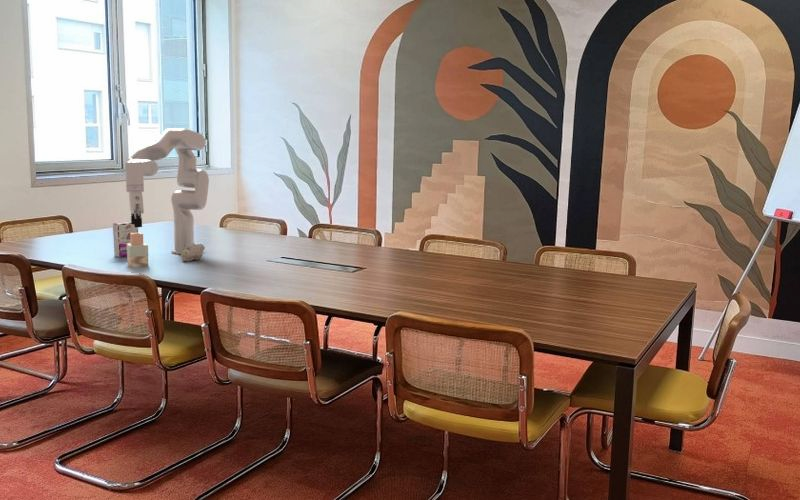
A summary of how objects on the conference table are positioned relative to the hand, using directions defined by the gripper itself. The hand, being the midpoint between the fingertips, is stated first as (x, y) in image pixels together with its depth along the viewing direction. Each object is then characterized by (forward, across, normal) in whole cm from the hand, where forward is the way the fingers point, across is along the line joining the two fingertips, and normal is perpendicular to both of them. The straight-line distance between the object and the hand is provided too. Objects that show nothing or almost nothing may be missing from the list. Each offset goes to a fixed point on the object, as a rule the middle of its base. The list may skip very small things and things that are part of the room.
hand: (136, 225), depth 358 cm
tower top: (+14, -1, 0) cm, 14 cm away
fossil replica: (+19, +4, -26) cm, 32 cm away
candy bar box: (+19, +28, +2) cm, 33 cm away
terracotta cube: (+8, 0, 0) cm, 9 cm away
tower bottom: (+18, -1, 0) cm, 19 cm away
